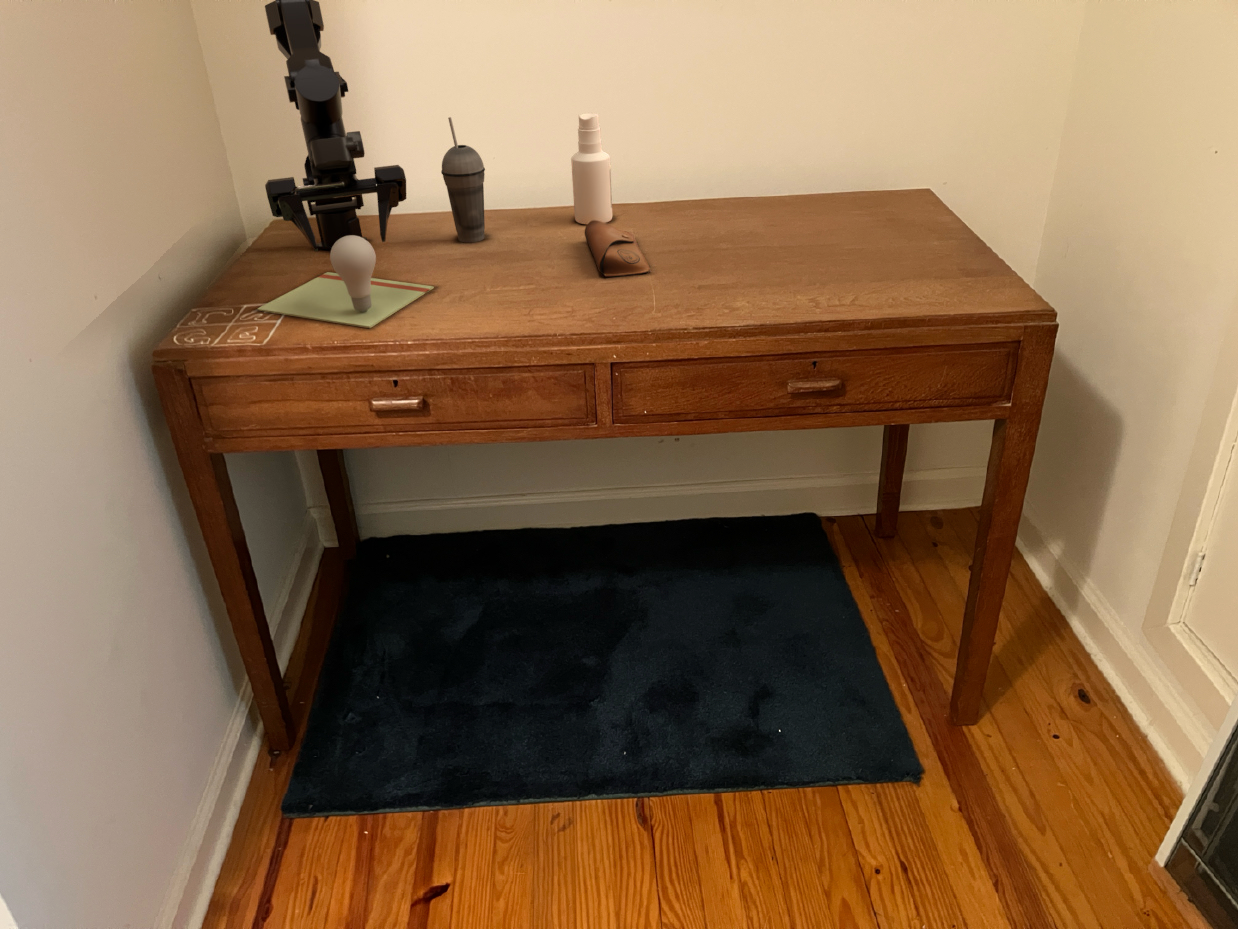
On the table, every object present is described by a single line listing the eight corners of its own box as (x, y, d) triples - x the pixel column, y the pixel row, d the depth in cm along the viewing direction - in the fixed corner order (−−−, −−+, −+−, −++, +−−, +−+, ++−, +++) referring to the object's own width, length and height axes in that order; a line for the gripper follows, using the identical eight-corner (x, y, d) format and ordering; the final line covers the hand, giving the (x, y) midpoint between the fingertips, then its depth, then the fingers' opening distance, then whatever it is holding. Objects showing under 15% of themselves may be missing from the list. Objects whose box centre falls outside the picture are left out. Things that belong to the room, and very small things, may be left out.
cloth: (257, 310, 133) (257, 308, 133) (328, 273, 146) (327, 271, 145) (369, 328, 126) (369, 326, 126) (433, 288, 139) (433, 286, 138)
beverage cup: (484, 245, 155) (470, 122, 144) (444, 244, 156) (427, 121, 145) (498, 232, 161) (485, 112, 150) (458, 230, 162) (443, 112, 151)
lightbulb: (356, 301, 134) (341, 228, 128) (393, 305, 132) (380, 230, 127) (333, 317, 129) (317, 241, 123) (371, 321, 127) (357, 244, 122)
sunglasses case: (654, 269, 140) (631, 234, 137) (616, 295, 141) (592, 261, 138) (633, 234, 155) (612, 202, 152) (599, 257, 157) (577, 226, 153)
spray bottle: (617, 215, 167) (614, 111, 157) (605, 226, 161) (600, 119, 152) (582, 212, 169) (577, 110, 159) (569, 223, 163) (562, 118, 154)
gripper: (249, 118, 119) (271, 225, 116) (392, 104, 124) (417, 206, 121) (262, 165, 130) (283, 265, 127) (394, 150, 135) (417, 246, 132)
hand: (350, 245), depth 127 cm, fingers open, 9 cm apart
